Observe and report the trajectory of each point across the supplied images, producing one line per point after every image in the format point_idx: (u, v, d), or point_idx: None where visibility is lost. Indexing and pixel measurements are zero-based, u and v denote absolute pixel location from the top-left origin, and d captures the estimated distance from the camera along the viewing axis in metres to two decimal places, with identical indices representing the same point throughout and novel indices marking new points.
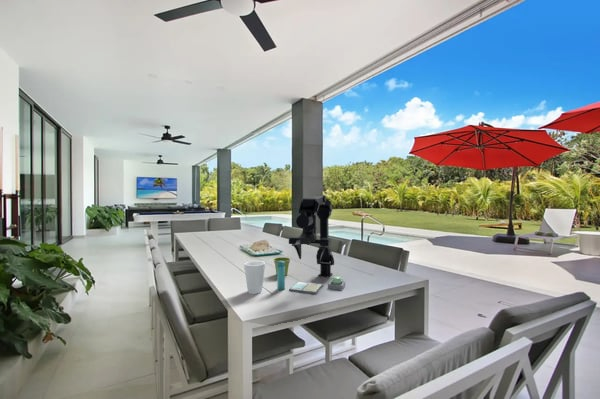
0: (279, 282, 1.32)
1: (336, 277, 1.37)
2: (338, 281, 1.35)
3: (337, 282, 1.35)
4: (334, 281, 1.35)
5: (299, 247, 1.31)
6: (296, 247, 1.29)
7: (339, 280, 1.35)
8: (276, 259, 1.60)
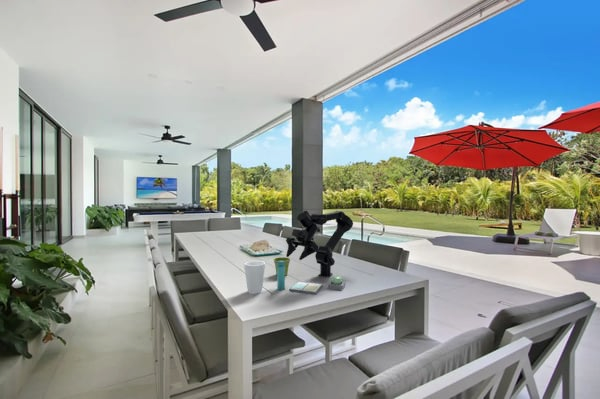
0: (279, 282, 1.32)
1: (336, 277, 1.37)
2: (338, 281, 1.35)
3: (337, 282, 1.35)
4: (334, 281, 1.35)
5: (291, 247, 1.45)
6: (289, 244, 1.45)
7: (339, 280, 1.35)
8: (276, 259, 1.60)
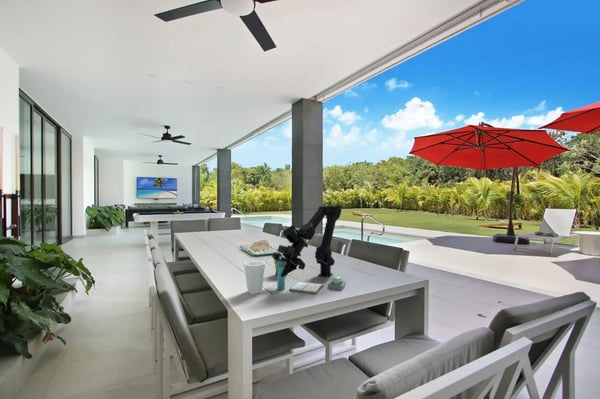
0: (279, 282, 1.32)
1: (336, 277, 1.37)
2: (338, 281, 1.35)
3: (337, 282, 1.35)
4: (334, 281, 1.35)
5: None
6: None
7: (339, 280, 1.35)
8: None
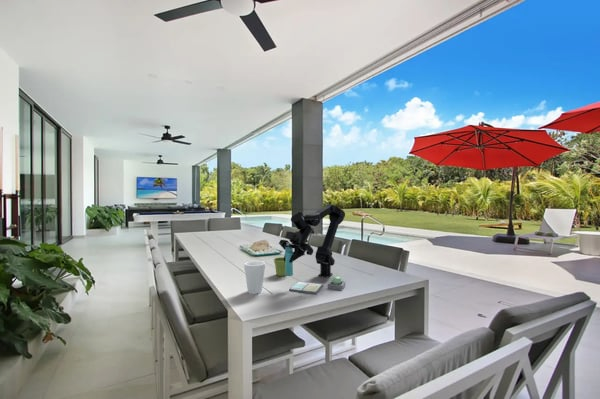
0: (287, 268, 1.32)
1: (336, 277, 1.37)
2: (338, 281, 1.35)
3: (337, 282, 1.35)
4: (334, 281, 1.35)
5: None
6: None
7: (339, 280, 1.35)
8: (276, 259, 1.60)
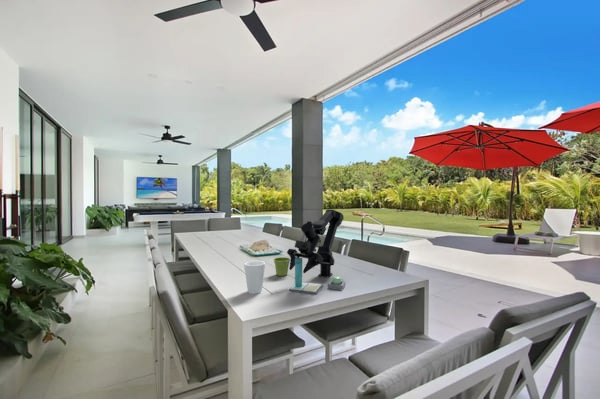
0: (297, 279, 1.33)
1: (336, 277, 1.37)
2: (338, 281, 1.35)
3: (337, 282, 1.35)
4: (334, 281, 1.35)
5: (294, 259, 1.39)
6: (291, 257, 1.38)
7: (339, 280, 1.35)
8: (276, 259, 1.60)
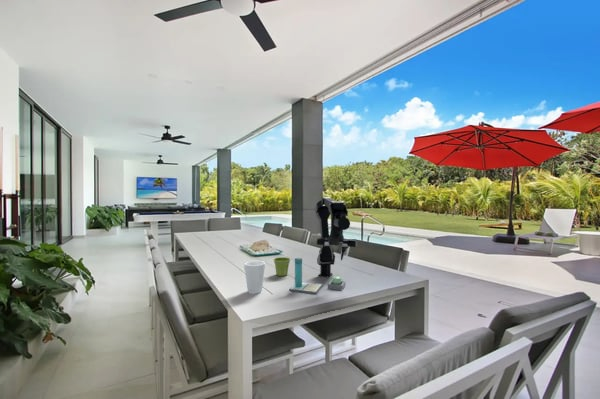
0: (297, 279, 1.33)
1: (336, 277, 1.37)
2: (338, 281, 1.35)
3: (337, 282, 1.35)
4: (334, 281, 1.35)
5: (331, 248, 1.37)
6: (328, 248, 1.36)
7: (339, 280, 1.35)
8: (276, 259, 1.60)
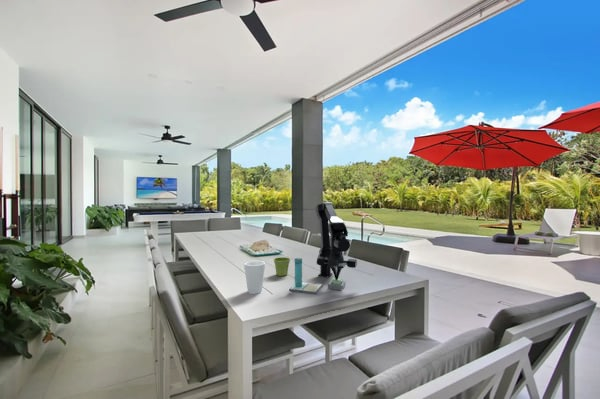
0: (297, 279, 1.33)
1: None
2: (338, 283, 1.35)
3: None
4: (334, 283, 1.35)
5: (335, 268, 1.37)
6: (333, 268, 1.35)
7: (339, 282, 1.35)
8: (276, 259, 1.60)
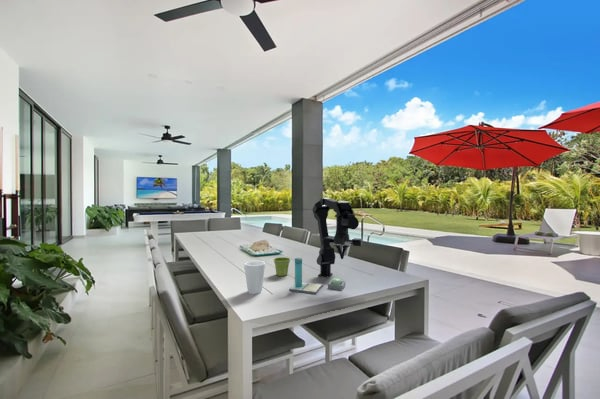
0: (297, 279, 1.33)
1: (336, 279, 1.37)
2: (338, 283, 1.35)
3: None
4: (334, 283, 1.35)
5: (341, 247, 1.39)
6: (338, 247, 1.37)
7: (339, 282, 1.35)
8: (276, 259, 1.60)
